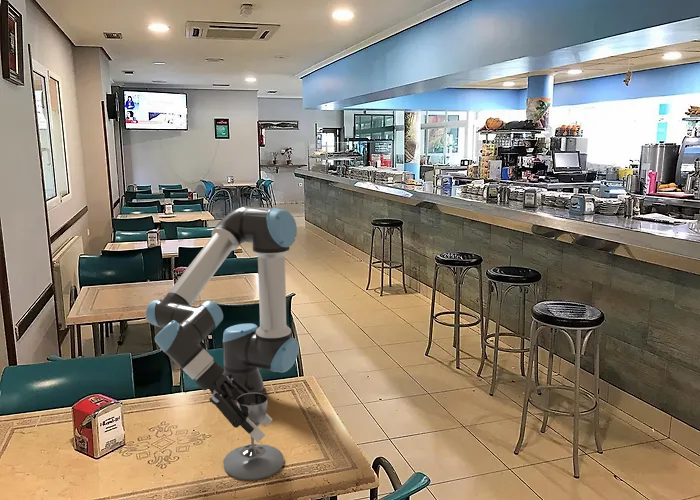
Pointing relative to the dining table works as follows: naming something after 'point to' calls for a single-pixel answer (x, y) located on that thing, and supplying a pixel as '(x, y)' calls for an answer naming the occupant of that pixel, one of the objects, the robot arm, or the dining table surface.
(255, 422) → the wine glass
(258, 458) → the plate
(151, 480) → the dining table surface
